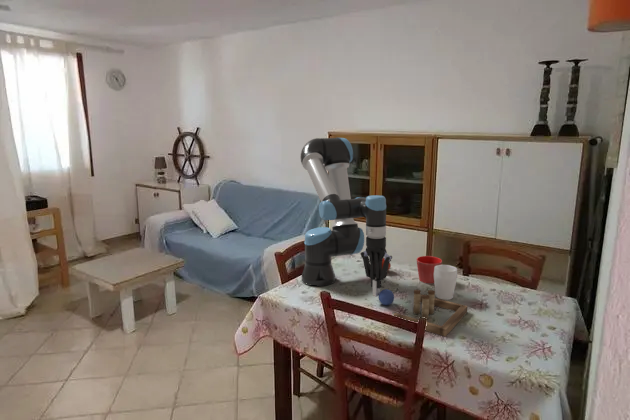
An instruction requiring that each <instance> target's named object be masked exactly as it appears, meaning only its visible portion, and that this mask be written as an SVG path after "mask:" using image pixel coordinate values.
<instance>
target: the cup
mask: <svg viewBox="0 0 630 420" xmlns="http://www.w3.org/2000/svg"><path fill="white" fill-rule="evenodd" d="M457 279H458V268H457V267H455V266H454V265H451V264H441V265H437V266H435V267H434V283H433V285H434V291H435V298H437V299H441V300H445V301H449V300H452V299H453V298H454V293H455V289H456V285H457Z"/></svg>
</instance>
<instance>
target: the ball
mask: <svg viewBox="0 0 630 420" xmlns="http://www.w3.org/2000/svg"><path fill="white" fill-rule="evenodd" d="M377 297H378V300H379V302H380V303H381V305H384V306H390V305H392V303H394V301H395V294H394V293H393V291H392V290H391V289H387V288H386V289H385V288H384V289H382V290H381V291H380V293H379V295H378V296H377Z"/></svg>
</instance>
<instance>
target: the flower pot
mask: <svg viewBox="0 0 630 420" xmlns="http://www.w3.org/2000/svg"><path fill="white" fill-rule="evenodd" d="M437 265H443V260H442V258H439V257H437V256H432V255H422V256H418V257H417V258H416V267H417V273H418V279H419V281H420V282H421V283H424V284H434V267H435V266H437Z"/></svg>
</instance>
